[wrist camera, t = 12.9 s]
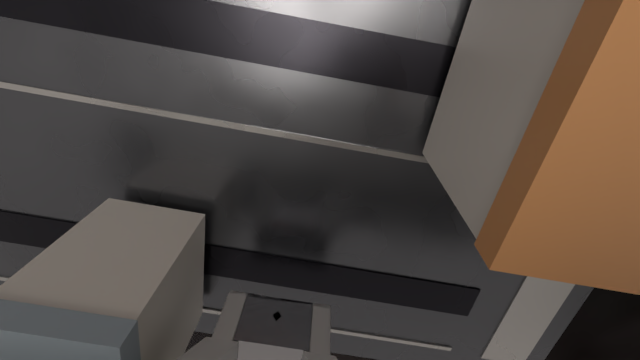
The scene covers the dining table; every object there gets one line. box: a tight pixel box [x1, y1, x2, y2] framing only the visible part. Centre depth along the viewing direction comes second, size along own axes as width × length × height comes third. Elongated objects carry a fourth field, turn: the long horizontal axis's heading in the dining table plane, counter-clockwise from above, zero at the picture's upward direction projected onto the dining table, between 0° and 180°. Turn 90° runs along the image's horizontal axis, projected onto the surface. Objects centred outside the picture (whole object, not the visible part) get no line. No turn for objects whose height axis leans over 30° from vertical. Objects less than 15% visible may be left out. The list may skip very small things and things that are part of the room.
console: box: [0, 0, 594, 360], centre depth 10 cm, size 22×14×2 cm, turn 80°
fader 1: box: [0, 198, 205, 360], centre depth 9 cm, size 3×4×4 cm
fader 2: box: [422, 0, 640, 295], centre depth 6 cm, size 3×4×4 cm
